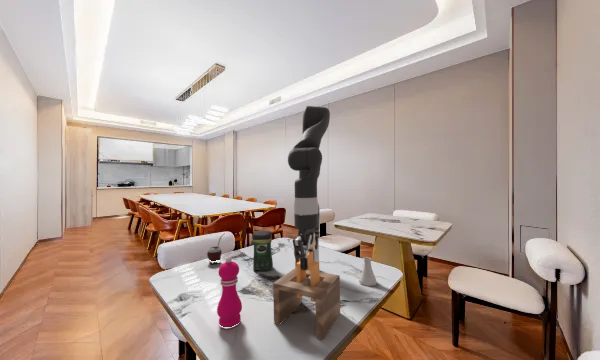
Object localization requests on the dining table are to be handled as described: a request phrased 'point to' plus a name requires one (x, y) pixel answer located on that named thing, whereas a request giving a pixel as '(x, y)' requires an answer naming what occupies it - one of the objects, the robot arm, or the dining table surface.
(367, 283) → the flask
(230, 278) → the pepper mill
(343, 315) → the dining table surface
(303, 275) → the stepped orange block
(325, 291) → the brown square frame
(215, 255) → the mate gourd
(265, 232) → the coffee jar
